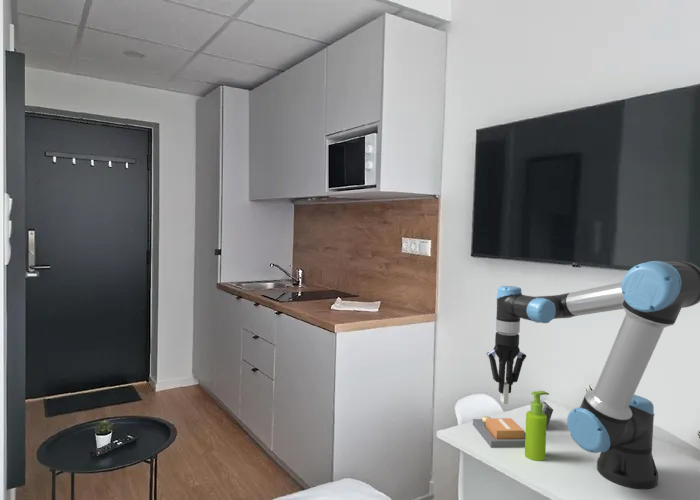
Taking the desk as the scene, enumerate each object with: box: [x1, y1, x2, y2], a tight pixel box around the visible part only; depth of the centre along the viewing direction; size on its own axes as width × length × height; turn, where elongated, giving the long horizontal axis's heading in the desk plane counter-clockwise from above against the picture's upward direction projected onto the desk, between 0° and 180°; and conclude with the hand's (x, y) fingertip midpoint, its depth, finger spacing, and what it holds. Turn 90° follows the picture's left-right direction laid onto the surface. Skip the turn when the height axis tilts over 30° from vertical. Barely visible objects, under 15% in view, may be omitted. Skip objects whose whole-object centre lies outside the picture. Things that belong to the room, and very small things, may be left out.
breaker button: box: [486, 417, 525, 439], centre depth 159 cm, size 10×9×3 cm
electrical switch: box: [540, 399, 554, 431], centre depth 170 cm, size 9×5×9 cm, turn 178°
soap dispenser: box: [524, 390, 550, 462], centre depth 146 cm, size 6×7×20 cm
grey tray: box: [472, 416, 526, 449], centre depth 161 cm, size 18×14×4 cm
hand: (504, 402), depth 159 cm, fingers closed
